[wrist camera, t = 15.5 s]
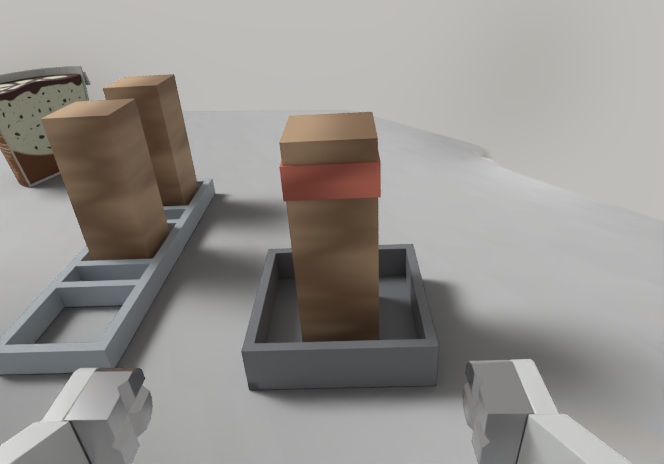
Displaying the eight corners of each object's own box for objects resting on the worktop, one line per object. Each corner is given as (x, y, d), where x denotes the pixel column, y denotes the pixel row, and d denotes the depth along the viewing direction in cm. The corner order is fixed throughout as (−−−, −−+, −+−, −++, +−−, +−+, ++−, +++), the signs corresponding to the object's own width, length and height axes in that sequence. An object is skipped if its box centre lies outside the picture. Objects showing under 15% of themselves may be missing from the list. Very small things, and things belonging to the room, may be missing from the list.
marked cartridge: (300, 346, 24) (276, 143, 19) (306, 297, 28) (287, 115, 23) (381, 344, 24) (380, 138, 19) (376, 294, 28) (374, 111, 22)
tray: (249, 389, 23) (241, 351, 21) (273, 281, 31) (268, 249, 29) (435, 385, 22) (438, 346, 21) (411, 277, 30) (413, 243, 29)
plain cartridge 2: (141, 221, 39) (102, 88, 34) (157, 200, 43) (125, 77, 38) (187, 219, 39) (156, 85, 34) (200, 198, 43) (174, 74, 37)
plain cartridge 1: (97, 275, 32) (40, 118, 27) (121, 245, 36) (75, 101, 31) (154, 273, 32) (107, 115, 27) (172, 243, 36) (135, 98, 30)
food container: (74, 147, 58) (45, 64, 53) (111, 152, 56) (85, 65, 51) (-24, 186, 49) (-70, 88, 44) (16, 193, 46) (-28, 90, 41)
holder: (-3, 374, 25) (-15, 353, 24) (150, 195, 44) (146, 181, 43) (112, 371, 24) (104, 350, 24) (215, 193, 44) (212, 178, 43)
